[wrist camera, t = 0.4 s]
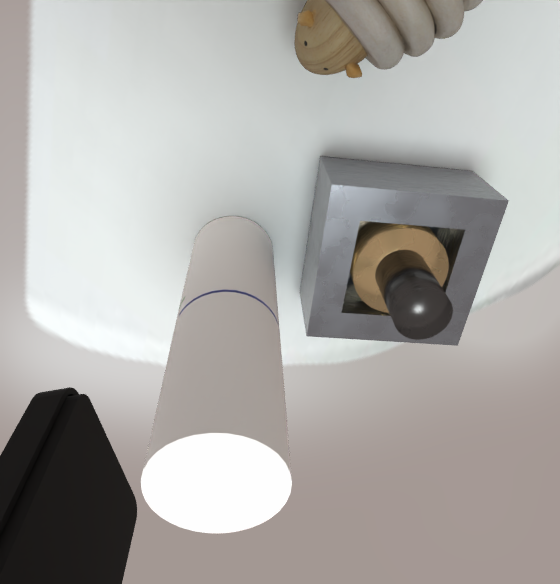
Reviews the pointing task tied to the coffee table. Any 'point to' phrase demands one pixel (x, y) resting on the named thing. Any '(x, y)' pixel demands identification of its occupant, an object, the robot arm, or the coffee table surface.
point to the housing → (398, 210)
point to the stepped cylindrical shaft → (403, 276)
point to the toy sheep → (372, 31)
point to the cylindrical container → (222, 391)
